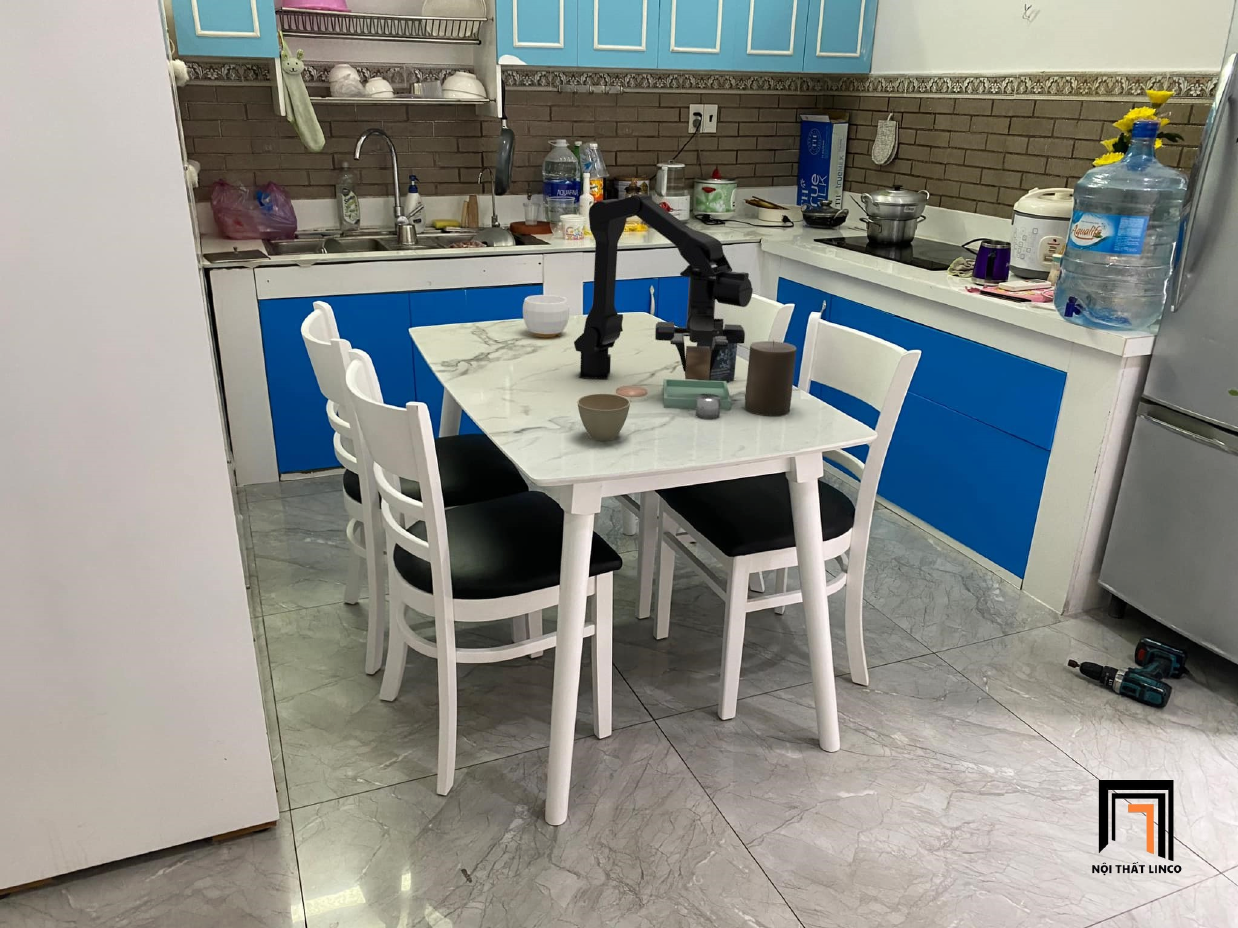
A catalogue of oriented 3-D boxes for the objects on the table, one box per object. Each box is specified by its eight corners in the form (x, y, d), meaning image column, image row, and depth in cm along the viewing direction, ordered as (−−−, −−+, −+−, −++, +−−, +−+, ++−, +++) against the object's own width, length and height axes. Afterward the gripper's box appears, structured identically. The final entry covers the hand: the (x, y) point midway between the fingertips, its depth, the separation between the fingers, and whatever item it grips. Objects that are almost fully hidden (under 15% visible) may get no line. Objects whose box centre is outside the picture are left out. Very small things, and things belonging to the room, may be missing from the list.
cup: (567, 341, 246) (567, 305, 243) (520, 340, 246) (520, 303, 243) (570, 330, 258) (570, 295, 254) (525, 328, 258) (525, 293, 254)
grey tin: (696, 419, 192) (697, 400, 190) (695, 411, 196) (696, 393, 195) (720, 420, 192) (721, 401, 190) (718, 412, 196) (720, 394, 195)
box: (708, 385, 214) (711, 340, 210) (693, 379, 218) (696, 334, 214) (735, 380, 218) (738, 336, 214) (719, 374, 222) (723, 330, 218)
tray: (663, 407, 198) (664, 398, 197) (663, 387, 211) (663, 378, 210) (730, 410, 198) (731, 400, 197) (725, 390, 210) (726, 381, 210)
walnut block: (685, 379, 200) (687, 352, 198) (684, 372, 205) (686, 345, 202) (708, 380, 200) (710, 352, 198) (707, 373, 204) (709, 346, 202)
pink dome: (615, 398, 204) (615, 394, 204) (616, 388, 211) (616, 385, 210) (647, 399, 204) (647, 395, 204) (647, 389, 211) (647, 386, 210)
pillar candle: (780, 419, 193) (788, 348, 188) (736, 410, 197) (743, 341, 192) (796, 407, 201) (804, 339, 196) (753, 399, 205) (760, 332, 200)
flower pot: (575, 427, 185) (576, 393, 182) (626, 427, 185) (627, 393, 183) (578, 445, 175) (578, 409, 173) (631, 445, 176) (632, 409, 174)
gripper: (657, 306, 189) (653, 380, 195) (750, 310, 188) (743, 384, 194) (657, 295, 199) (653, 366, 205) (745, 298, 199) (739, 369, 205)
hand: (696, 371), depth 202 cm, fingers closed on walnut block, 5 cm apart
